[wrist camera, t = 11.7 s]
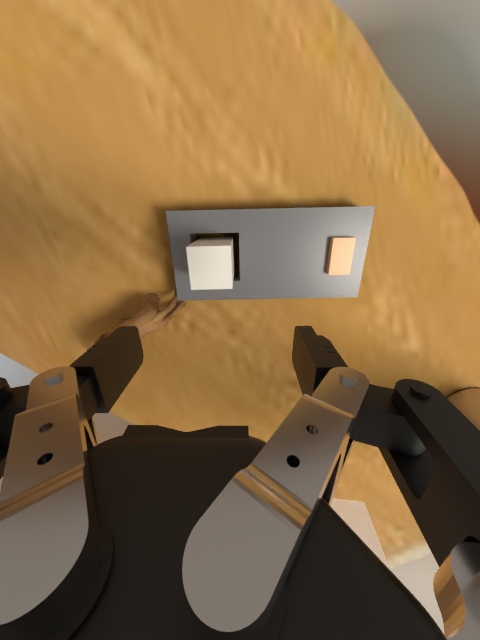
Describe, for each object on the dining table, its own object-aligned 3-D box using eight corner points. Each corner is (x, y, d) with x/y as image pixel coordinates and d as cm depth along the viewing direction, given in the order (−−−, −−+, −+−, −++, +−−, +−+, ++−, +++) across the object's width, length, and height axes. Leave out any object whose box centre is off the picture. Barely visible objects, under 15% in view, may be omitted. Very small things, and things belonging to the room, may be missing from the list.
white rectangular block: (233, 236, 29) (230, 245, 21) (234, 268, 31) (232, 288, 22) (201, 237, 29) (185, 246, 21) (204, 269, 31) (191, 289, 23)
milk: (364, 501, 52) (467, 741, 28) (345, 529, 57) (421, 755, 33) (312, 496, 51) (373, 738, 28) (298, 524, 56) (340, 752, 32)
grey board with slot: (359, 207, 28) (379, 205, 24) (345, 288, 32) (360, 299, 28) (174, 211, 28) (163, 210, 24) (184, 291, 32) (176, 302, 28)
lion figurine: (135, 357, 36) (104, 399, 28) (105, 336, 35) (63, 373, 27) (196, 294, 32) (181, 321, 24) (165, 266, 31) (137, 285, 22)
